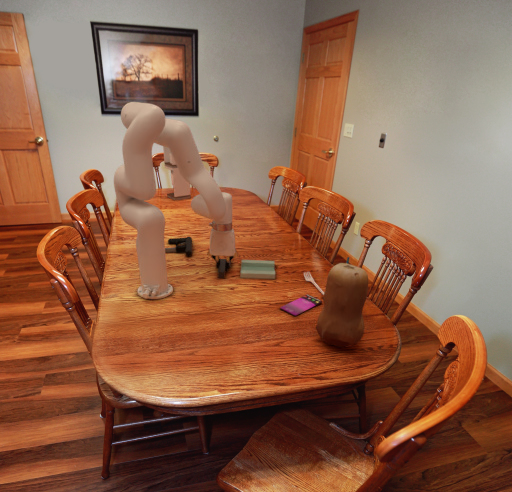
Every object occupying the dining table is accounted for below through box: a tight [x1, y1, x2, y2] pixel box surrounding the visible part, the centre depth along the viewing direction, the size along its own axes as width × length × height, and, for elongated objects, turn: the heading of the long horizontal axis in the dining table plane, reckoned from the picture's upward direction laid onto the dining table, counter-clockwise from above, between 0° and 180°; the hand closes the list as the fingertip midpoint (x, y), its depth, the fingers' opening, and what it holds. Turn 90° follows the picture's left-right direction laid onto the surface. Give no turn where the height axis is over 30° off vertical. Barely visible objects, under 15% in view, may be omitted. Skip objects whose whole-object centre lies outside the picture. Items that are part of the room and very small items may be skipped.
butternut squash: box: [315, 262, 369, 348], centre depth 115 cm, size 14×13×25 cm
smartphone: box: [279, 293, 323, 317], centre depth 141 cm, size 7×15×1 cm, turn 134°
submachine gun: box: [165, 236, 195, 258], centre depth 183 cm, size 3×20×16 cm
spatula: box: [217, 258, 232, 279], centre depth 165 cm, size 18×6×3 cm, turn 0°
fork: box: [303, 271, 325, 296], centre depth 155 cm, size 3×20×2 cm, turn 15°
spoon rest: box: [239, 259, 276, 280], centre depth 165 cm, size 14×14×2 cm
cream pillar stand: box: [162, 146, 192, 201], centre depth 253 cm, size 11×11×35 cm
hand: (222, 269), depth 165 cm, fingers closed on spatula, 2 cm apart
